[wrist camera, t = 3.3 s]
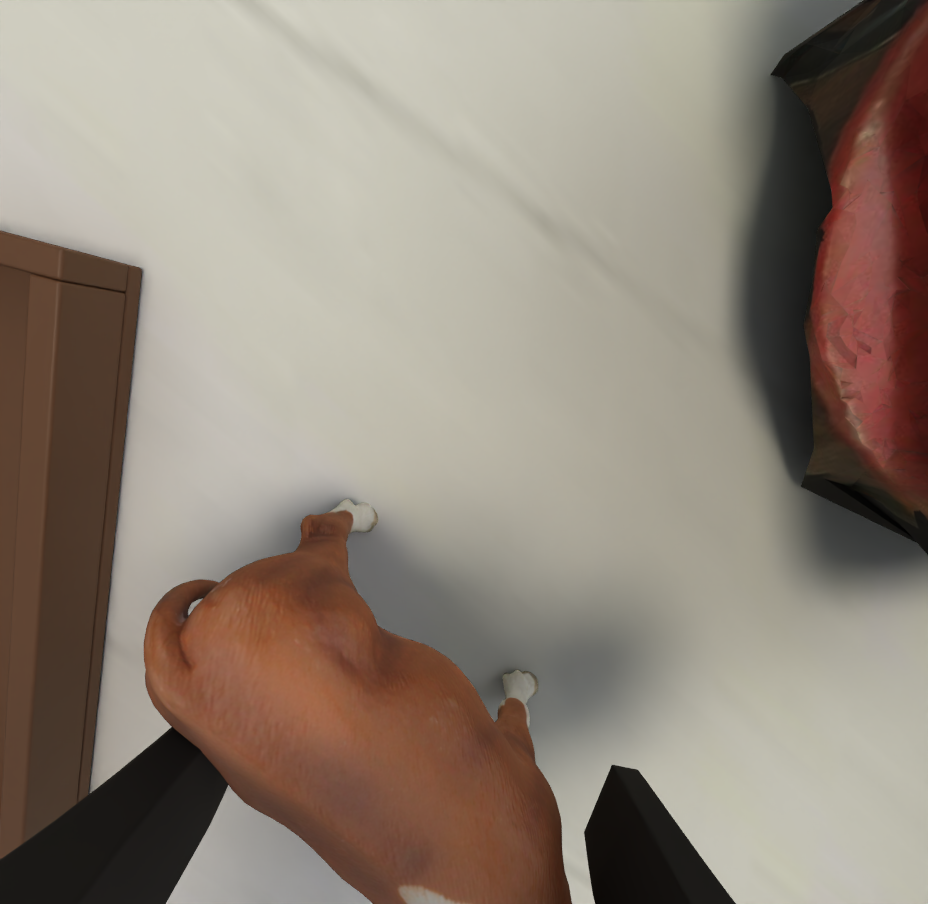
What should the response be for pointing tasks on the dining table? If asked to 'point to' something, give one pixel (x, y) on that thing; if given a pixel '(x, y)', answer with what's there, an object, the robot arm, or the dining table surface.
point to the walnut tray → (56, 514)
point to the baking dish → (870, 261)
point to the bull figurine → (357, 730)
